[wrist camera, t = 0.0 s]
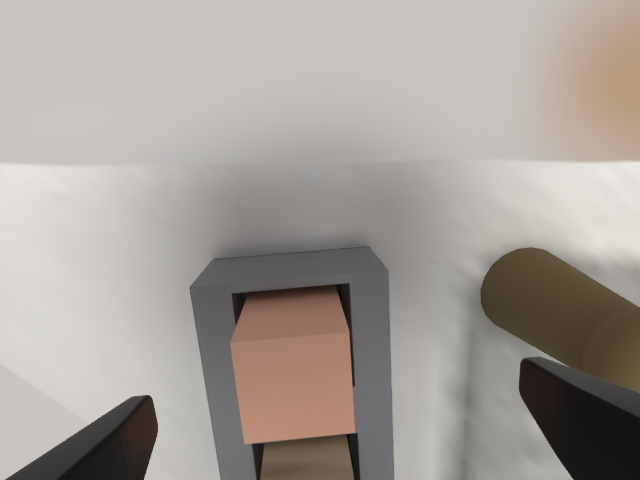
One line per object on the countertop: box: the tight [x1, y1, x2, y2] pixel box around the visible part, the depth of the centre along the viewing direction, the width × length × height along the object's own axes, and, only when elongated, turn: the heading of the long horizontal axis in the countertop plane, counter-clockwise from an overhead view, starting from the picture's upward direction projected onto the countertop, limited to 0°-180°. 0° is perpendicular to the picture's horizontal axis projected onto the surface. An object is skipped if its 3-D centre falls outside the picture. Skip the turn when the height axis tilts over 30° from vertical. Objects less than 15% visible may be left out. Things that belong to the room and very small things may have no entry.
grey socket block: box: [190, 247, 394, 480], centre depth 22 cm, size 16×10×5 cm, turn 4°
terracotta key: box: [230, 284, 355, 444], centre depth 18 cm, size 5×5×6 cm
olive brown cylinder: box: [481, 248, 640, 393], centre depth 19 cm, size 6×6×11 cm
